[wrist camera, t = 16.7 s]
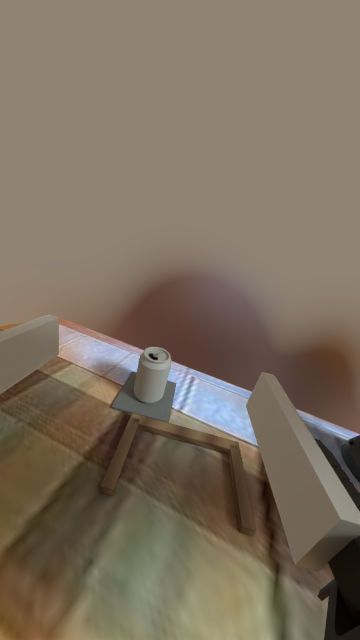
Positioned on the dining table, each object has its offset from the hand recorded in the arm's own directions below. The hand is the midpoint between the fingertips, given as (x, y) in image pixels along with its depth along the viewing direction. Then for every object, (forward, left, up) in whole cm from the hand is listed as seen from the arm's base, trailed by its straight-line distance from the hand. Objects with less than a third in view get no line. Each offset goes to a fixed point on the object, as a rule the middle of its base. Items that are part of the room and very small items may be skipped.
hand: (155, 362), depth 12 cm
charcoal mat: (+3, -26, -28) cm, 38 cm away
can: (+3, -26, -28) cm, 38 cm away
